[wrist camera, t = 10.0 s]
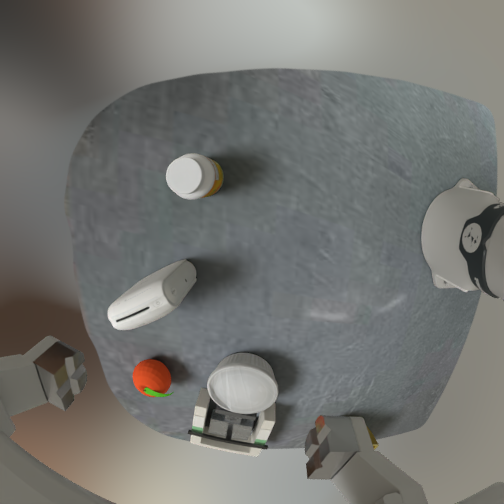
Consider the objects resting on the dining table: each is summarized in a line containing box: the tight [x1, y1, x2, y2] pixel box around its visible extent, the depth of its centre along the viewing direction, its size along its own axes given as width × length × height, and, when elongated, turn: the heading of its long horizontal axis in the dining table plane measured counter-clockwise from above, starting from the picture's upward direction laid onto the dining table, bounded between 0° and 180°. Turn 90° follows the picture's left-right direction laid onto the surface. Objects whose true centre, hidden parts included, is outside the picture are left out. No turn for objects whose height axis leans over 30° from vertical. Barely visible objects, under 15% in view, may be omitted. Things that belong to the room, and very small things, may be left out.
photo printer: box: [108, 259, 197, 330], centre depth 34 cm, size 10×4×12 cm, turn 116°
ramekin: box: [207, 353, 278, 414], centre depth 41 cm, size 11×11×5 cm
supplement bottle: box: [166, 153, 223, 199], centre depth 31 cm, size 5×5×10 cm
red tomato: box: [133, 359, 174, 397], centre depth 41 cm, size 8×7×7 cm
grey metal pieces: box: [188, 404, 268, 449], centre depth 43 cm, size 15×10×6 cm
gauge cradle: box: [190, 388, 275, 457], centre depth 44 cm, size 14×13×5 cm
